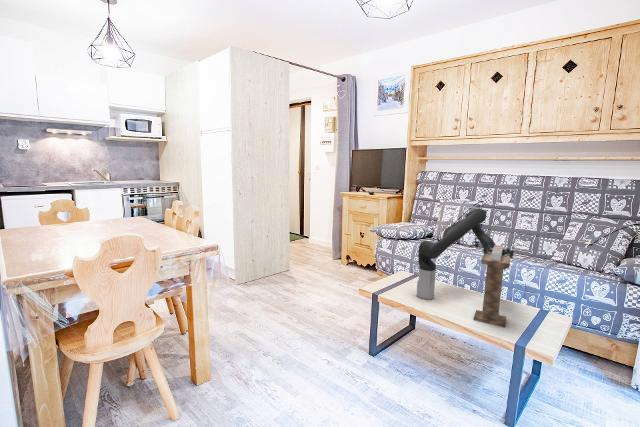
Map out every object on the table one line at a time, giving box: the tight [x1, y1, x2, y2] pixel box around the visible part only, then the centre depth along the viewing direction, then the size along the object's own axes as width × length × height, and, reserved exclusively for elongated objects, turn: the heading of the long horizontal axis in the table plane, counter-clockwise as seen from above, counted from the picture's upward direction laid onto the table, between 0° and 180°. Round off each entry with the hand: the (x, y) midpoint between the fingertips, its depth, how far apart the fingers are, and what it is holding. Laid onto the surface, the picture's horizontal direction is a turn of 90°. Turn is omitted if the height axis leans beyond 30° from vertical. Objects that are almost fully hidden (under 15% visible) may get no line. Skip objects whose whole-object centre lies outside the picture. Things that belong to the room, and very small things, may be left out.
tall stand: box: [473, 253, 512, 328], centre depth 164 cm, size 14×13×32 cm
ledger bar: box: [491, 244, 504, 262], centre depth 165 cm, size 4×20×4 cm, turn 149°
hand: (498, 248), depth 171 cm, fingers open, 8 cm apart
